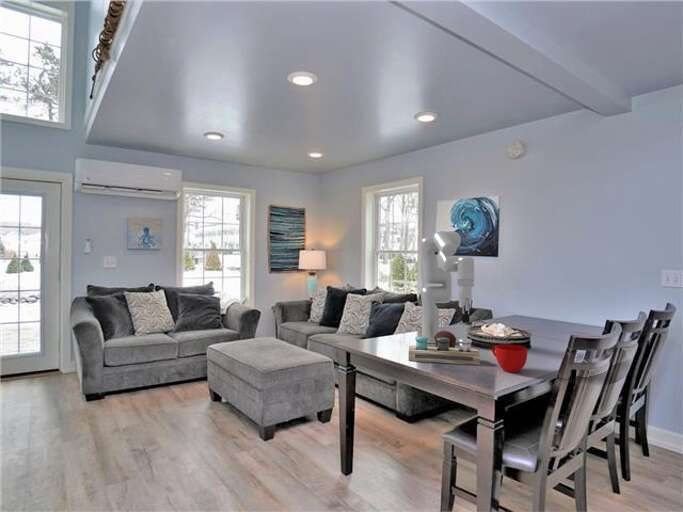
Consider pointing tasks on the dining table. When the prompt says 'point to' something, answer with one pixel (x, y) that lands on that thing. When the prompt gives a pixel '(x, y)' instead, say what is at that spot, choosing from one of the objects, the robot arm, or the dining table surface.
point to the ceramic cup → (510, 357)
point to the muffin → (446, 335)
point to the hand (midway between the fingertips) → (465, 322)
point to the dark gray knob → (443, 344)
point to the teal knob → (421, 343)
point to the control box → (444, 356)
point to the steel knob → (464, 345)
